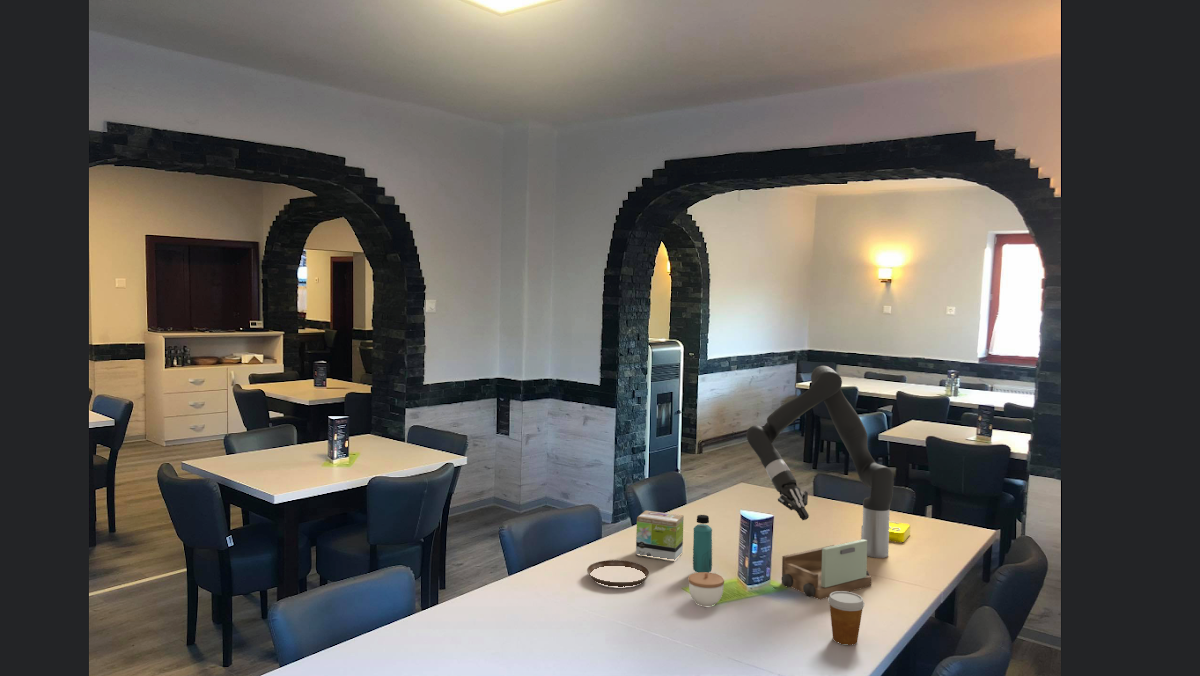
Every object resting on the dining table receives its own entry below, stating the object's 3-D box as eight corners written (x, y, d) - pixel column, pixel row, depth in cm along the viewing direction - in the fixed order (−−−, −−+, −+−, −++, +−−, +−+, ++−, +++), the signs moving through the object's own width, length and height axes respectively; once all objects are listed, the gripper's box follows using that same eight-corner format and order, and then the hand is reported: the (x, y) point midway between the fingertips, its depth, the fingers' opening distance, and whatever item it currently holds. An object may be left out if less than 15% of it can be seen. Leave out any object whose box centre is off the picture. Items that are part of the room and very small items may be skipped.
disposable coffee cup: (821, 633, 211) (822, 590, 211) (854, 632, 212) (855, 590, 211) (834, 648, 202) (836, 604, 201) (869, 647, 202) (870, 603, 202)
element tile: (911, 534, 306) (911, 523, 306) (903, 544, 293) (903, 532, 293) (872, 528, 314) (872, 517, 314) (863, 537, 302) (863, 525, 301)
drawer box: (779, 583, 248) (779, 556, 248) (835, 570, 262) (836, 544, 262) (816, 600, 235) (817, 571, 234) (873, 585, 248) (874, 557, 248)
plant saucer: (662, 580, 251) (662, 570, 251) (620, 597, 236) (620, 586, 236) (615, 564, 265) (615, 555, 265) (573, 579, 250) (573, 570, 250)
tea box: (635, 557, 273) (635, 516, 273) (644, 548, 283) (644, 509, 282) (675, 562, 268) (676, 521, 267) (683, 554, 277) (684, 514, 276)
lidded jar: (701, 612, 224) (701, 581, 224) (681, 600, 234) (681, 569, 233) (730, 606, 229) (731, 575, 229) (709, 594, 239) (710, 564, 238)
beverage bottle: (711, 578, 253) (712, 519, 252) (691, 576, 254) (692, 517, 253) (712, 571, 259) (713, 513, 258) (692, 570, 260) (694, 512, 259)
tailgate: (821, 586, 238) (822, 548, 237) (862, 575, 248) (863, 539, 247) (826, 588, 236) (827, 550, 236) (867, 577, 246) (868, 541, 245)
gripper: (772, 471, 260) (797, 515, 250) (800, 467, 267) (826, 510, 257) (761, 483, 265) (785, 527, 255) (788, 479, 272) (813, 522, 262)
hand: (805, 518), depth 256 cm, fingers closed
